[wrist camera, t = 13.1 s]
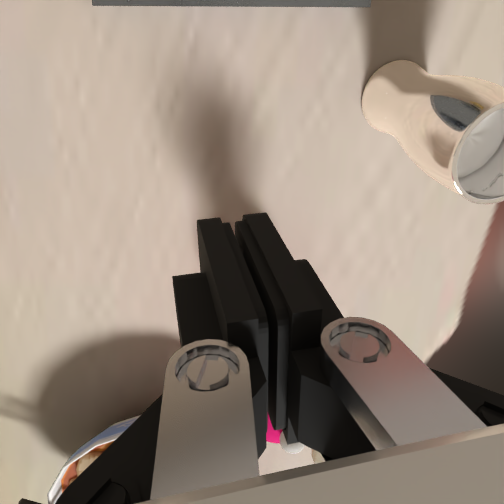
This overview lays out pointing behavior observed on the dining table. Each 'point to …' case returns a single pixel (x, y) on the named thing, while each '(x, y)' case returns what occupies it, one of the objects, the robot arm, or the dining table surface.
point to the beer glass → (443, 126)
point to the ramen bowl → (84, 459)
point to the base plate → (236, 3)
